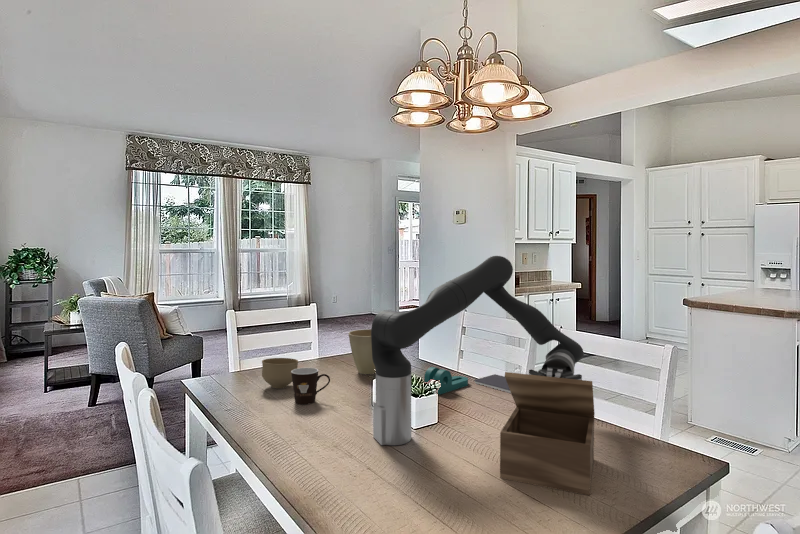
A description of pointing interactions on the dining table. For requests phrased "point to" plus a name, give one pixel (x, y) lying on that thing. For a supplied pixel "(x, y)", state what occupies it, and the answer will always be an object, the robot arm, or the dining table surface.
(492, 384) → the notebook
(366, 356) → the plant pot
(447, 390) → the bracket
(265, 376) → the bowl
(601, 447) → the dining table surface
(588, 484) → the wooden box
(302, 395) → the coffee mug
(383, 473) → the dining table surface
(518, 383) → the box lid
